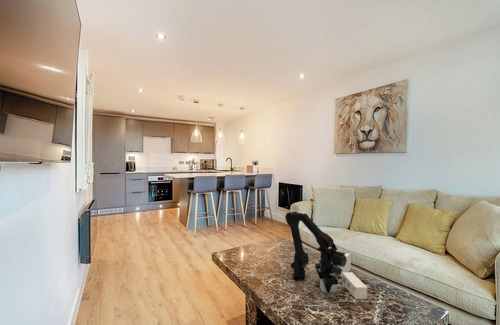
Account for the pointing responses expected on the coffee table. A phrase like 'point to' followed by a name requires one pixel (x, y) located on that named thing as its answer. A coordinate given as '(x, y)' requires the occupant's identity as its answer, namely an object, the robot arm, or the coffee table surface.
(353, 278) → the bar
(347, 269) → the cable organizer
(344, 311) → the coffee table surface
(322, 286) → the charger
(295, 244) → the robot arm
